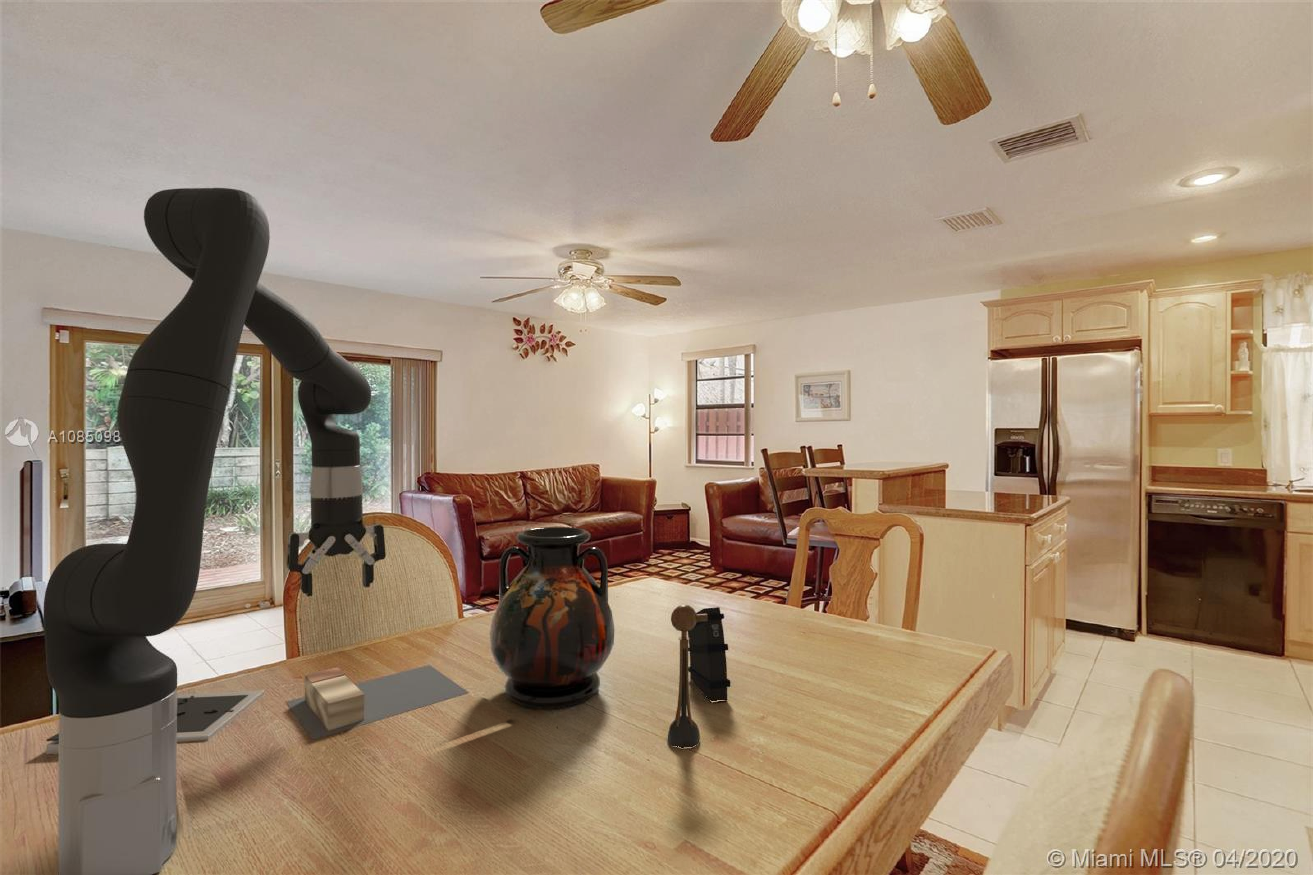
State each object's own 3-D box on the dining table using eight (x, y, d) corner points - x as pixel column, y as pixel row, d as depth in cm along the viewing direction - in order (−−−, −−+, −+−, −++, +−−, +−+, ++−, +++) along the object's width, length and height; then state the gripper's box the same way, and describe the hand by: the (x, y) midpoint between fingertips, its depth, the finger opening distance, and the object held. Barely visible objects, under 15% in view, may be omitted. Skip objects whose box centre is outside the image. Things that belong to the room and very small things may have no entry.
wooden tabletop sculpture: (702, 731, 92) (703, 599, 92) (710, 746, 87) (711, 608, 87) (664, 734, 91) (665, 601, 91) (670, 750, 86) (671, 610, 86)
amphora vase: (471, 718, 96) (472, 542, 96) (509, 666, 117) (509, 522, 117) (607, 721, 95) (608, 543, 95) (619, 668, 116) (620, 523, 116)
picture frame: (46, 759, 84) (208, 750, 87) (46, 739, 84) (208, 730, 87) (129, 709, 100) (264, 702, 103) (129, 692, 100) (264, 685, 103)
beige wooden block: (364, 719, 93) (364, 692, 93) (328, 730, 90) (328, 702, 90) (337, 691, 104) (337, 667, 104) (304, 700, 100) (304, 674, 100)
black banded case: (716, 702, 98) (702, 608, 104) (691, 706, 109) (680, 621, 116) (737, 699, 99) (722, 606, 105) (710, 703, 110) (698, 619, 117)
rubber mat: (469, 697, 103) (469, 692, 103) (312, 745, 87) (312, 739, 87) (429, 669, 116) (429, 664, 116) (285, 706, 100) (285, 701, 100)
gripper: (290, 499, 92) (292, 604, 92) (389, 492, 101) (390, 588, 101) (283, 494, 98) (285, 593, 98) (377, 487, 107) (378, 578, 107)
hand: (338, 590), depth 100 cm, fingers open, 8 cm apart
